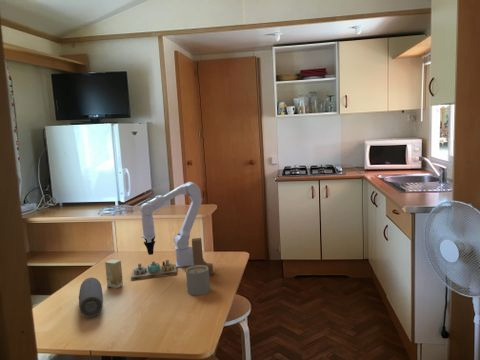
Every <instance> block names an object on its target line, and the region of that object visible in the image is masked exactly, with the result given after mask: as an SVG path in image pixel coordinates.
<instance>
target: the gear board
mask: <svg viewBox="0 0 480 360" xmlns="http://www.w3.org/2000/svg"><path fill="white" fill-rule="evenodd" d="M155 263H156V261H151V264H152V266H155ZM174 275H178V271H177V267H176V263H175V264H174V263H173V262H170V261H169V259H165V261H162V265H160V270H159V271H158V272H154V273H153V272H151V273H150V272H148V267H146V266H142V263H137V267H135V268H133V269H132V271H131V276H130V280H131V281H137V280H143V279H144V280H145V279H152V278H159V277H167V276H174Z"/></svg>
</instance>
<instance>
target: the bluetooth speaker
mask: <svg viewBox="0 0 480 360" xmlns="http://www.w3.org/2000/svg"><path fill="white" fill-rule="evenodd" d="M103 305H104V295H103V288H102V284H101V282H100V281H99V279H97V278H95V277H88V278H86V279H84V280H82V283H81V284H80V287H79V293H78V307H79V311H80V313H81V314H82V316H84V317H87V318H92V317H95V316H98V314H99V313H101V311H102V309H103Z"/></svg>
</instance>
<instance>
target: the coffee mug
mask: <svg viewBox="0 0 480 360" xmlns="http://www.w3.org/2000/svg"><path fill="white" fill-rule="evenodd" d="M185 277H186V287H187V294H188V295H191V296H202V295H205V294H208V293H209V292H210V291H211V283H210V282H211V281H210V275H209V269H208V267H207V266H205V265H195V266H194V265H191V266H187V268H186V269H185Z"/></svg>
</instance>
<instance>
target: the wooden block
mask: <svg viewBox="0 0 480 360" xmlns="http://www.w3.org/2000/svg"><path fill="white" fill-rule="evenodd" d="M202 243H203V242H202V237H195V238H194V237H193V238H192V239H191V247H192V251H193V262H194V265H193V266H195V265H205V266H207V267H208V269H209V276H213V275H214V265H213V263H212V262H211V263H208V262H206V261H205V260H204V256H203V255H204V253H203V244H202Z"/></svg>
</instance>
